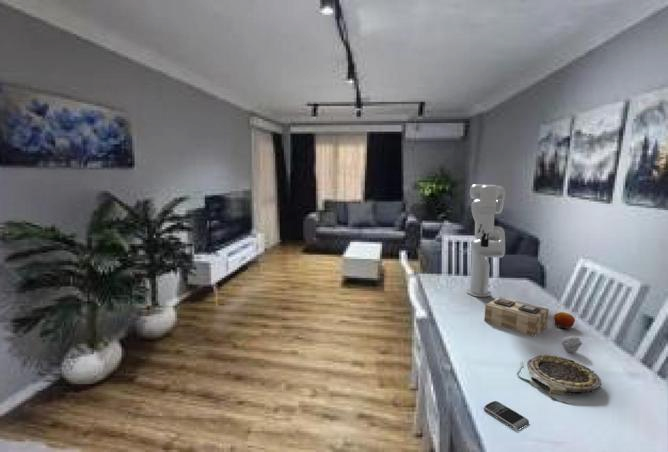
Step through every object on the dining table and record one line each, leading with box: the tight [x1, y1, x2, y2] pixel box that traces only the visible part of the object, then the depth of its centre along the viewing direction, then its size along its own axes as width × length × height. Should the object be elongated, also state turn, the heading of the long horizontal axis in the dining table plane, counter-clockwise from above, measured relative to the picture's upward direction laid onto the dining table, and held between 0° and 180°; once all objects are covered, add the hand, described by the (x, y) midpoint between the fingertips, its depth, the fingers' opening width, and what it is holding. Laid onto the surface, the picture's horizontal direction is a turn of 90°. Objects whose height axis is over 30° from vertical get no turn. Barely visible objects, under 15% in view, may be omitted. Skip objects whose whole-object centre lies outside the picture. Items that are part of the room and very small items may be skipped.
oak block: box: [483, 296, 549, 337], centre depth 170 cm, size 16×22×9 cm
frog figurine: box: [561, 335, 583, 354], centre depth 143 cm, size 6×7×7 cm
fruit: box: [553, 311, 576, 331], centre depth 166 cm, size 8×8×8 cm
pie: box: [516, 354, 602, 404], centre depth 124 cm, size 28×27×5 cm
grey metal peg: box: [523, 306, 536, 311], centre depth 166 cm, size 4×4×9 cm
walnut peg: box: [499, 299, 511, 304], centre depth 174 cm, size 4×4×9 cm
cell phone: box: [483, 400, 530, 431], centre depth 105 cm, size 6×11×1 cm, turn 32°
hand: (484, 246), depth 185 cm, fingers closed
